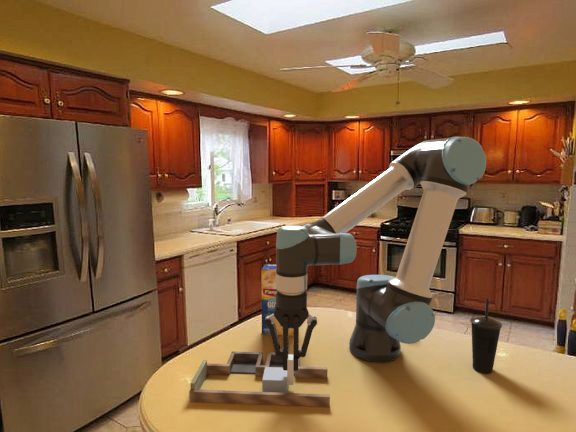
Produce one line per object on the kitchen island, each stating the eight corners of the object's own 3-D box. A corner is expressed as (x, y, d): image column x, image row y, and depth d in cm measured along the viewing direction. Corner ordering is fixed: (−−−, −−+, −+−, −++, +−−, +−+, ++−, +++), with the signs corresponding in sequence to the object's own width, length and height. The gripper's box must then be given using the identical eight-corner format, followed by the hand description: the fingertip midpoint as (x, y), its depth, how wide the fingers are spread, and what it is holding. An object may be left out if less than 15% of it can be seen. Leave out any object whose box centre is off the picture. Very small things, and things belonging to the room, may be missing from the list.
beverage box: (294, 335, 125) (294, 270, 122) (261, 333, 126) (261, 269, 123) (296, 327, 131) (296, 265, 129) (265, 325, 133) (264, 264, 130)
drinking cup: (501, 368, 105) (507, 299, 102) (493, 380, 99) (499, 306, 97) (472, 359, 110) (477, 292, 107) (463, 369, 104) (468, 299, 102)
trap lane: (326, 362, 108) (326, 349, 107) (329, 407, 88) (329, 391, 87) (211, 359, 110) (211, 345, 109) (189, 401, 90) (189, 385, 89)
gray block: (288, 382, 98) (288, 367, 98) (286, 396, 92) (287, 380, 92) (265, 381, 98) (265, 366, 98) (262, 395, 92) (262, 379, 92)
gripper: (318, 286, 95) (316, 374, 98) (266, 284, 95) (266, 372, 98) (318, 296, 87) (317, 391, 90) (262, 294, 88) (262, 389, 91)
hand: (290, 381), depth 94 cm, fingers closed
